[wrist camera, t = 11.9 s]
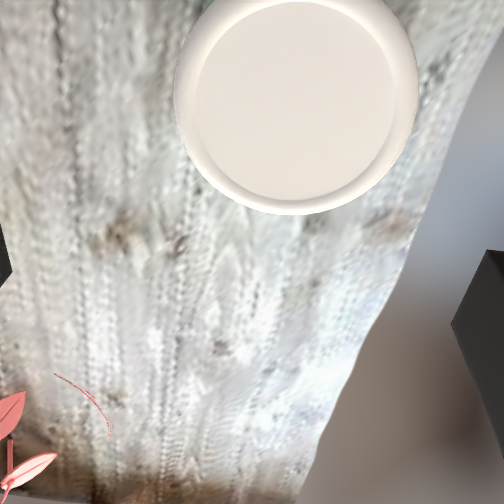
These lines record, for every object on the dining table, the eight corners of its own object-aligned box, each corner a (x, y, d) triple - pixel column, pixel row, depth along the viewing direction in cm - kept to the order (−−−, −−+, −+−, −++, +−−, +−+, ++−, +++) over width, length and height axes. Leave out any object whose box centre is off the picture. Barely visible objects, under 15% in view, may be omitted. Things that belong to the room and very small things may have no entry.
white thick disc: (435, -23, 19) (460, -12, 16) (373, 195, 25) (384, 232, 22) (187, -52, 19) (168, -46, 16) (184, 172, 25) (170, 206, 22)
